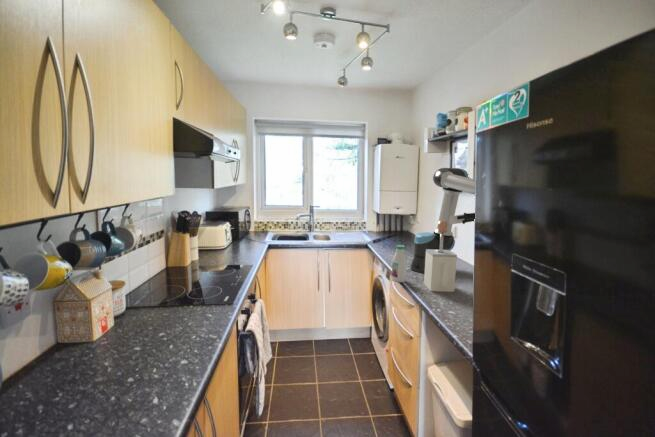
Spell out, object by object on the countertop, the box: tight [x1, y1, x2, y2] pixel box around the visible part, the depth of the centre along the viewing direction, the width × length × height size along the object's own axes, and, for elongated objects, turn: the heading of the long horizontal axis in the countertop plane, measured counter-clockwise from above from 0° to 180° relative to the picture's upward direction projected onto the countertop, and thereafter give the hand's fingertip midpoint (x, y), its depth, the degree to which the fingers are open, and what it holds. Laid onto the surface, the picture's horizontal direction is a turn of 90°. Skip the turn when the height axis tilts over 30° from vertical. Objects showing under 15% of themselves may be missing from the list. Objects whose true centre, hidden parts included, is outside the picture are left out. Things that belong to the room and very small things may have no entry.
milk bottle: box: [391, 244, 407, 283], centre depth 179 cm, size 8×8×20 cm
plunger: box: [437, 220, 447, 253], centre depth 167 cm, size 7×7×26 cm
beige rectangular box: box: [423, 249, 458, 293], centre depth 167 cm, size 16×12×19 cm
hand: (449, 220), depth 168 cm, fingers open, 13 cm apart
